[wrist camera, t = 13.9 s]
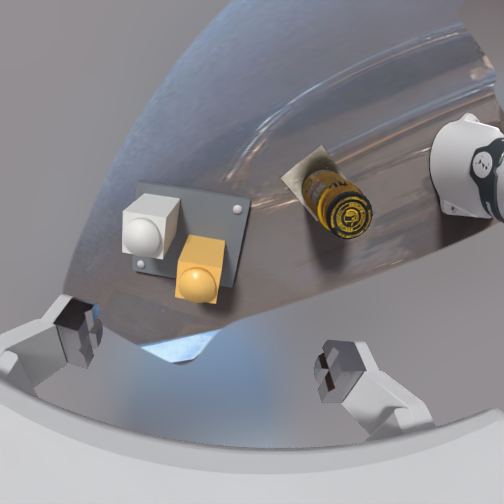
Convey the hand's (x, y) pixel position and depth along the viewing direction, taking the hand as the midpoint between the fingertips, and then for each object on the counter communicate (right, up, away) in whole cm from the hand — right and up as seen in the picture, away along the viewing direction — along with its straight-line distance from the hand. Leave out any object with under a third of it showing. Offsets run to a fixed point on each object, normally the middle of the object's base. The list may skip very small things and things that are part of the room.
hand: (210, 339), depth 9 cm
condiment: (+11, +13, +29) cm, 34 cm away
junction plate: (-8, +6, +32) cm, 33 cm away
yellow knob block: (-5, +3, +32) cm, 32 cm away
